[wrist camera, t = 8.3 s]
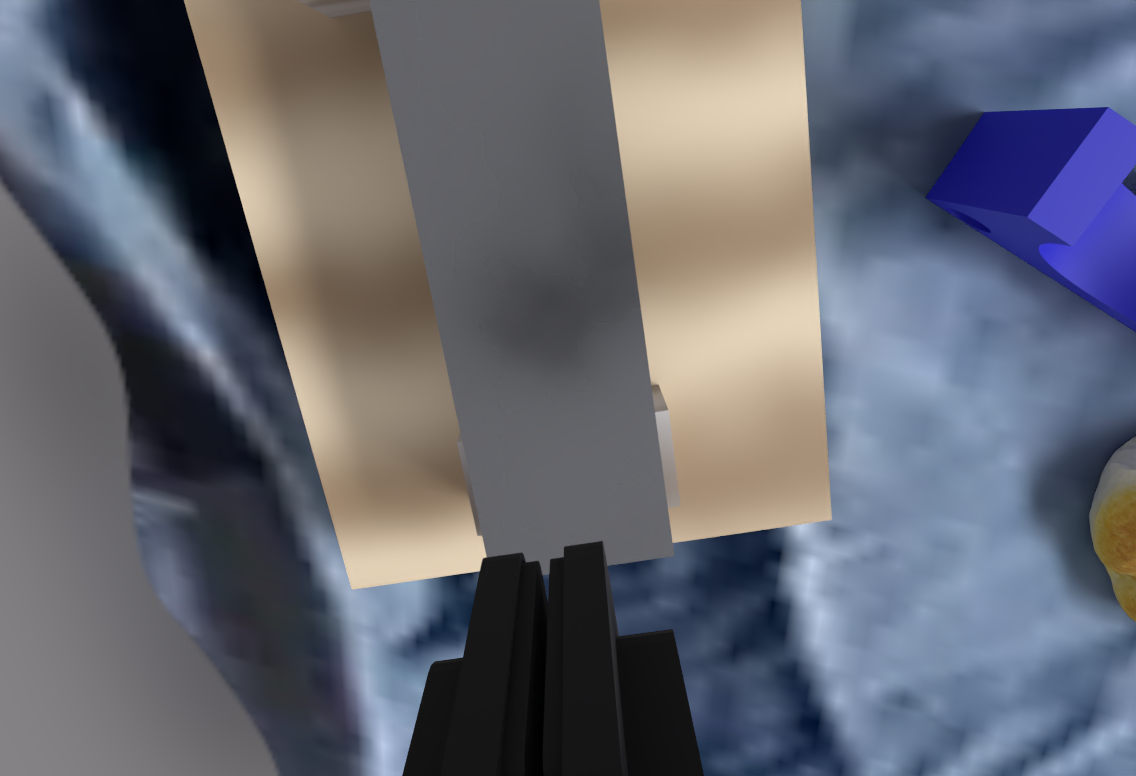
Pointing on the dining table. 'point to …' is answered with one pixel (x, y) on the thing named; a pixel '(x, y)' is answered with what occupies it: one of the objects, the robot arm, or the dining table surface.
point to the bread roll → (1117, 524)
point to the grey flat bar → (530, 268)
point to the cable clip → (1053, 197)
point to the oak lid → (660, 246)
